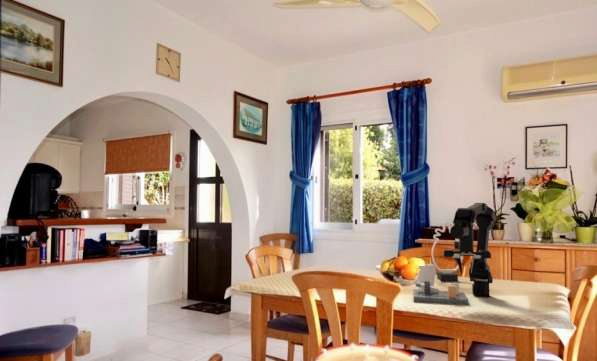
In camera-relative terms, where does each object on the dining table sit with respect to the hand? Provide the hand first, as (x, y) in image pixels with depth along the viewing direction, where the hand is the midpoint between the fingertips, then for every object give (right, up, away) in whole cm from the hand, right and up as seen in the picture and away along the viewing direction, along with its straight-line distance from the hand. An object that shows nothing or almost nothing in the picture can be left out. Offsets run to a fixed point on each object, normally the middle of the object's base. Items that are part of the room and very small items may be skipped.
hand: (466, 274), depth 184 cm
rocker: (-13, -8, +11) cm, 20 cm away
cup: (-10, -13, +26) cm, 31 cm away
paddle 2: (-6, -10, +1) cm, 12 cm away
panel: (-10, -12, +6) cm, 17 cm away
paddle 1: (-2, -10, +8) cm, 13 cm away
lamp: (+9, -14, +51) cm, 54 cm away
